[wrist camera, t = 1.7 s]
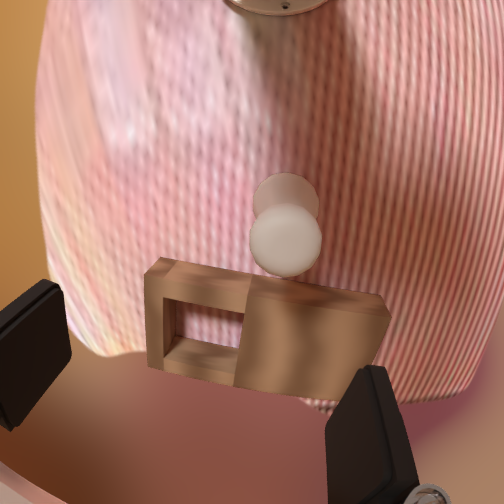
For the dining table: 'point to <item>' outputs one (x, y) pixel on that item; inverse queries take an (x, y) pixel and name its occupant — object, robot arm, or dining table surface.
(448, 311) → the dining table surface
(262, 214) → the salt shaker
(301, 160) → the dining table surface
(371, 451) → the robot arm
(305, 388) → the caddy
